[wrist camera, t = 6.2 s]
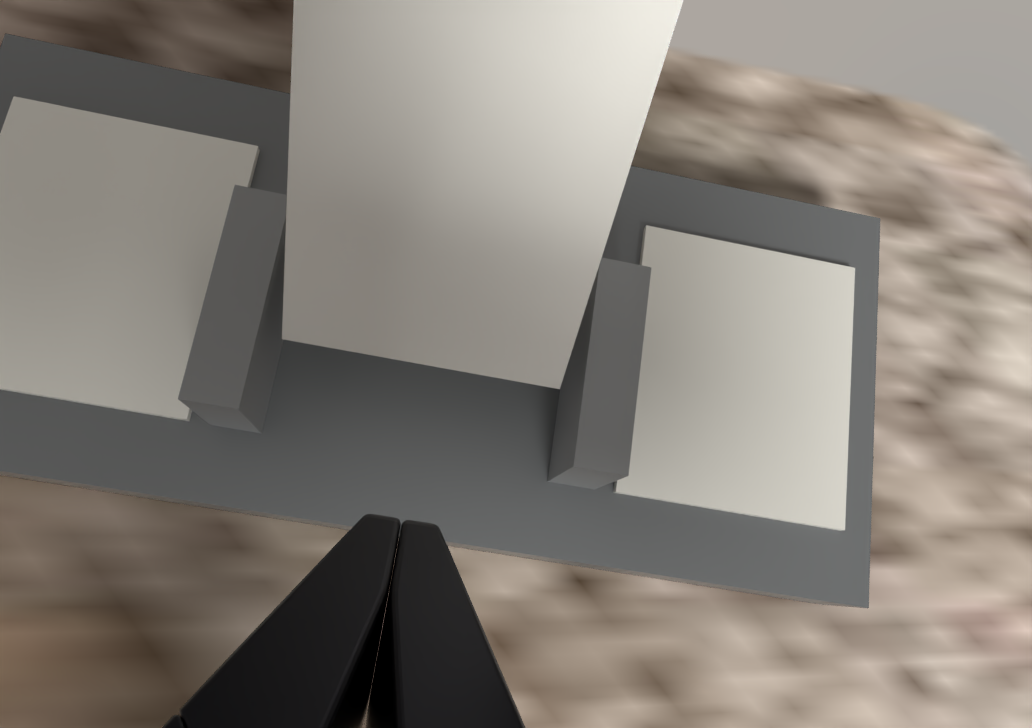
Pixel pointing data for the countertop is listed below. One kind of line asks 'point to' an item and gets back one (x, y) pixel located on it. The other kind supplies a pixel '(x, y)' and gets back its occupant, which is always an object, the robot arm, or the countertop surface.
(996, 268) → the countertop surface
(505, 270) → the handle
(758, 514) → the grey stand base
